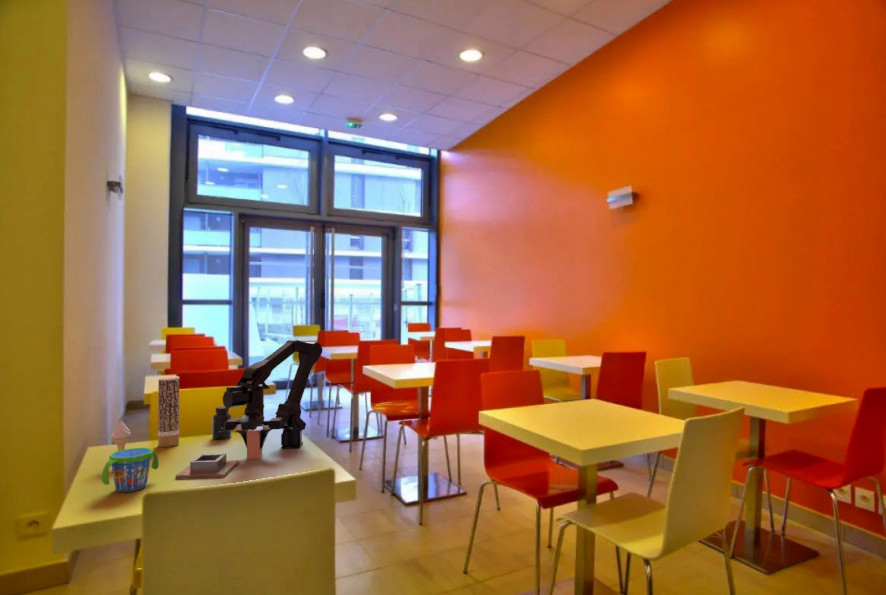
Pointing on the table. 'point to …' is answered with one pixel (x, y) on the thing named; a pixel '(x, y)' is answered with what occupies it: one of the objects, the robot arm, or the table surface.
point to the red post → (254, 443)
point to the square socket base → (208, 467)
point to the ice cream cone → (121, 435)
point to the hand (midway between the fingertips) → (254, 449)
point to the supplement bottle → (221, 423)
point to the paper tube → (168, 411)
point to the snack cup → (130, 468)
